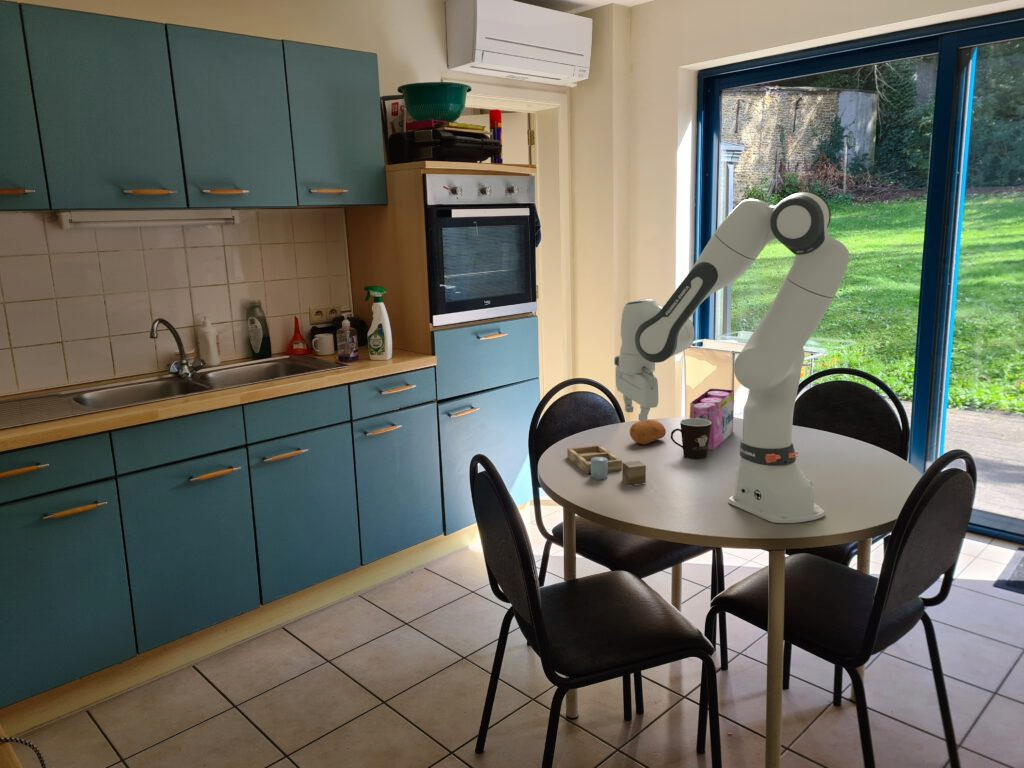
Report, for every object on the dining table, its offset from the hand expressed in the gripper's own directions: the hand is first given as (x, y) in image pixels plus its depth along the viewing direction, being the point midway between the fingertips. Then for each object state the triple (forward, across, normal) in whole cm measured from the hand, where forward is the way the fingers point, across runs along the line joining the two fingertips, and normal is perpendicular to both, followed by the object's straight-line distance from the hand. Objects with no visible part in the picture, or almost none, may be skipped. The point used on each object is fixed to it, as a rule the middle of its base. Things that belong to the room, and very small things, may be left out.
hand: (635, 416), depth 197 cm
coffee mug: (+17, +15, -23) cm, 32 cm away
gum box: (+18, +29, -36) cm, 50 cm away
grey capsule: (+18, +5, +8) cm, 20 cm away
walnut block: (+17, -1, 0) cm, 17 cm away
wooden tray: (+18, +16, +5) cm, 25 cm away
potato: (+18, +32, -17) cm, 40 cm away
